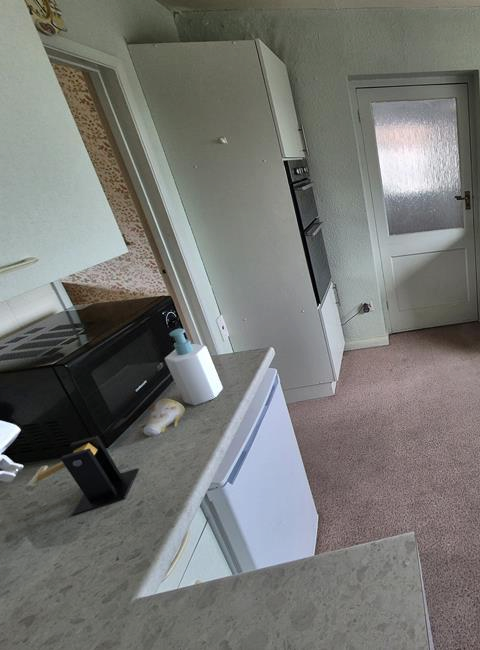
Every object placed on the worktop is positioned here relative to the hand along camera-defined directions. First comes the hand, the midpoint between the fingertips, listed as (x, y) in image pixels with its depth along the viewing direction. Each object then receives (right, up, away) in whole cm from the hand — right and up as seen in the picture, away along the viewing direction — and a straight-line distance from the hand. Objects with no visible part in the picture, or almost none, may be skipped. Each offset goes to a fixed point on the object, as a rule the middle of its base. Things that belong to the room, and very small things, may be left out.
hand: (17, 473), depth 74 cm
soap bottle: (+9, +6, +42) cm, 43 cm away
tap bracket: (+10, -9, +9) cm, 16 cm away
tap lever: (+5, -1, +4) cm, 7 cm away
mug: (+7, 0, +29) cm, 30 cm away
